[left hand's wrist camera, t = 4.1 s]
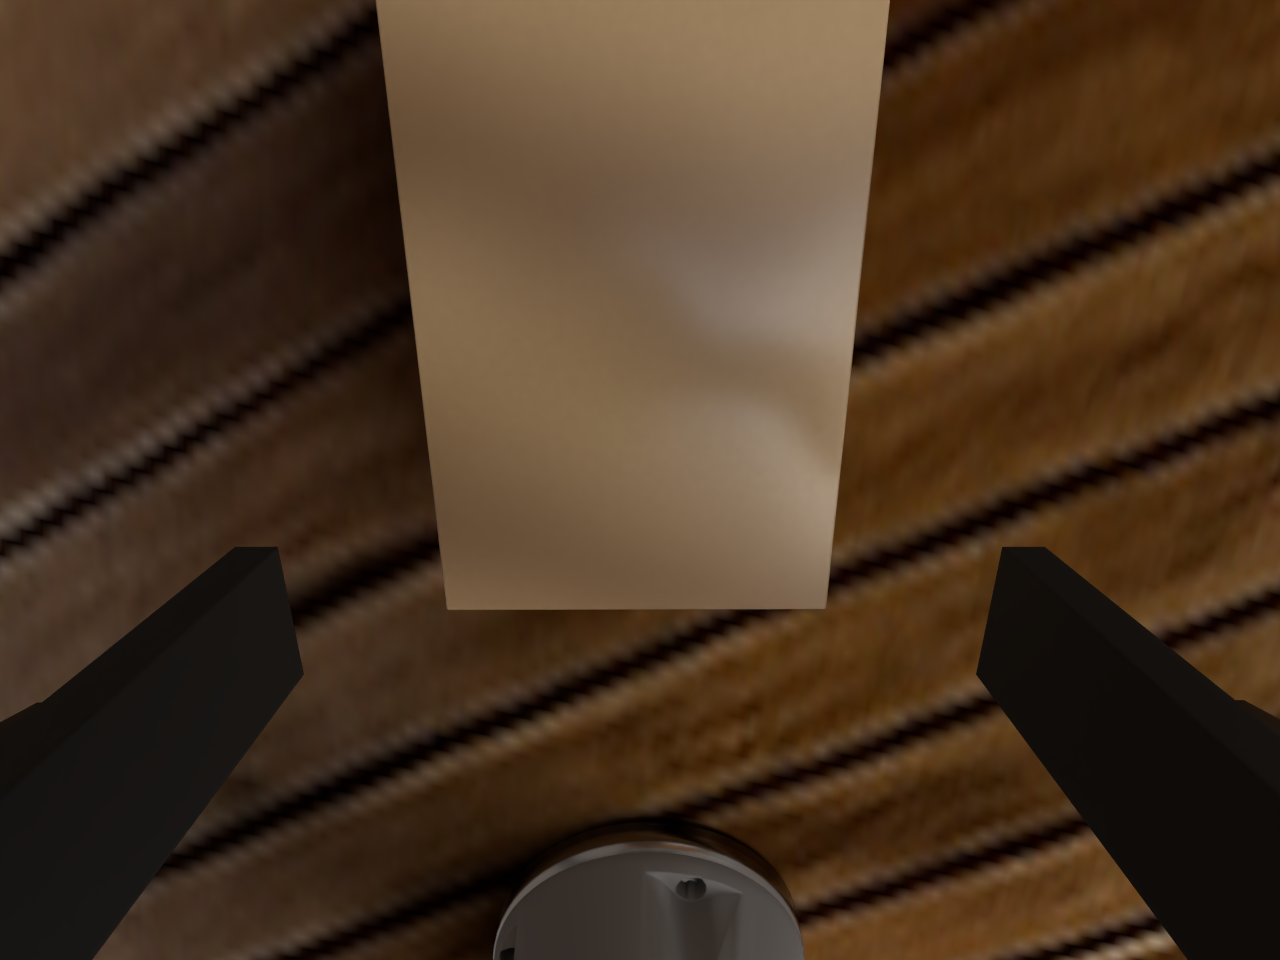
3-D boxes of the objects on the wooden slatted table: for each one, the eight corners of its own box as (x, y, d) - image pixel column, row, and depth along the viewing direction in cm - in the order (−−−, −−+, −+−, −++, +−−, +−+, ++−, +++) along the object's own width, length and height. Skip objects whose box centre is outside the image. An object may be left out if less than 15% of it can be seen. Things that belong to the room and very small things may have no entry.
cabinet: (447, -225, 19) (311, -541, 11) (820, -226, 19) (947, -545, 11) (504, 495, 27) (446, 610, 19) (770, 494, 27) (826, 609, 19)
